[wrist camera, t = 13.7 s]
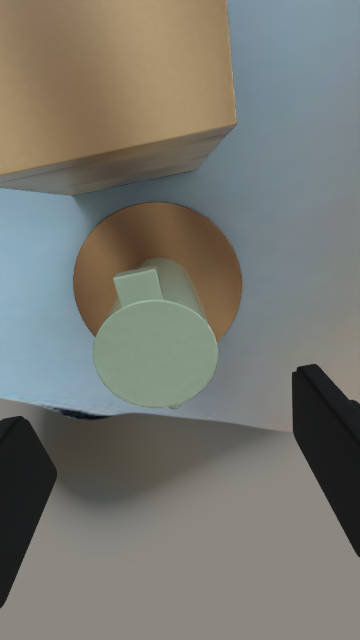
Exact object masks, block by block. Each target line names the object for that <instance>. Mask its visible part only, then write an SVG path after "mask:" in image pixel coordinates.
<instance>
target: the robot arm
mask: <svg viewBox="0 0 360 640" xmlns="http://www.w3.org/2000/svg"><path fill="white" fill-rule="evenodd" d="M292 408H293V433H294V437H295V439H296V441H297V443H298V445H299V447H300V449H301V451H302V453H303V455H304V456H305V458H306V460H307V462H308V464H309V466H310V468H311V470H312V471H313V473H314V475H315V477H316V479H317V481H318V483H319V485H320V486H321V488H322V490H323V492H324V494H325V496H326V498H327V500H328V502H329V503H330V505H331V507H332V509H333V511H334V513H335V514H336V516H337V519H338V520H339V522H340V524H341V526H342V528H343V530H344V532H345V533H346V536H347V537H348V539H349V541H350V543H351V545H352V547H353V549H354V550H355V552H356V554H357V555H358V556H359V557H360V404H359V403H358V402H357V401H354V400H349V399H348V398H347V397H346V396H345V395H344V394H343V393H342V391H341V390H340V389H339V388H338V387H337V386H336V385H335V384H334V383H333V382H332V380H331V379H330V378H329V377H328V376H327V375H326V374H325V373H324V372H323V371H322V369H321V368H320V367H319V366H318V365H317V364H311V365H305V366H300V367H297V371H296V372H293V373H292ZM56 478H57V470H56V468H55V466H54V464H53V462H52V461H51V459H50V457H49V455H48V454H47V452H46V450H45V448H44V447H43V445H42V443H41V442H40V440H39V438H38V436H37V434H36V433H35V431H34V429H33V427H32V426H31V424H30V422H29V421H28V420H27V419H24V417H22V416H16V417H11V418H6V419H3V420H1V421H0V608H1V607H2V606H3V605H4V603H5V601H6V599H7V597H8V595H9V592H10V589H11V587H12V585H13V582H14V580H15V578H16V575H17V573H18V570H19V568H20V566H21V563H22V561H23V558H24V556H25V553H26V551H27V549H28V546H29V544H30V541H31V539H32V537H33V534H34V532H35V529H36V527H37V525H38V522H39V520H40V517H41V515H42V512H43V510H44V508H45V505H46V503H47V500H48V498H49V496H50V493H51V491H52V488H53V486H54V483H55V481H56Z"/></svg>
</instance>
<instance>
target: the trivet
mask: <svg viewBox="0 0 360 640" xmlns="http://www.w3.org/2000/svg"><path fill="white" fill-rule="evenodd" d="M151 258H167V259H171V260H173V261H176V262H177V263H179V264H181V265H182V266H183V267H184V268H185V269H186V270H187V271H188V272H189V273H190V275H191V277H192V279H193V281H194V284H195V286H196V289H197V292H198V294H199V297H200V299H201V302H202V304H203V307H204V310H205V312H206V315H207V317H208V320H209V322H210V325H211V328H212V330H213V333H214V335H215V338H216V341H218V340H219V339H220V338H221V337H222V336H223V335H224V334H225V332H226V331H227V330H228V328H229V327H230V325H231V323H232V322H233V320H234V318H235V316H236V313H237V310H238V308H239V304H240V300H241V292H242V276H241V270H240V265H239V262H238V258H237V255H236V253H235V251H234V249H233V247H232V245H231V243H230V242H229V240H228V239H227V237H226V236H225V235H224V234H223V232H222V231H221V230H220V229H219V228H218V227H217V226H216V225H215V224H214V223H213V222H211V221H210V220H209V219H208V218H206V217H204V216H203V215H201V214H200V213H198V212H196V211H194V210H192V209H189V208H187V207H184V206H181V205H177V204H172V203H166V202H147V203H140V204H136V205H132V206H129V207H126V208H123V209H121V210H119V211H117V212H115V213H113V214H112V215H110V216H109V217H107V218H105V219H104V220H103V221H102V222H101V223H100V224H98V225H97V226H96V227H95V228H94V230H93V231H92V232H91V233H90V234H89V235H88V237H87V239H86V240H85V242H84V243H83V245H82V247H81V249H80V252H79V254H78V256H77V260H76V264H75V268H74V276H73V288H74V295H75V300H76V304H77V307H78V310H79V312H80V315H81V317H82V319H83V321H84V322H85V324H86V326H87V327H88V329H89V330H90V331H91V332H92V334H93V335H94V336H95V337H96V335H97V333H98V331H99V329H100V327H101V325H102V323H103V322H104V320H105V318H106V316H107V314H108V312H109V310H110V308H111V306H112V304H113V302H114V301H115V299H116V297H117V291H116V288H115V285H114V281H113V278H114V276H115V275H116V274H117V273H120V272H125V271H130V270H132V269H133V268H134V267H135V266H136V265H137V264H139V263H141V262H142V261H145V260H147V259H151Z"/></svg>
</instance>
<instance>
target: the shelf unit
mask: <svg viewBox="0 0 360 640" xmlns="http://www.w3.org/2000/svg"><path fill="white" fill-rule="evenodd" d="M236 125H237V118H236V106H235V94H234V82H233V70H232V58H231V46H230V34H229V22H228V11H227V0H0V188H6V189H15V190H24V191H33V192H42V193H51V194H60V195H69V196H74V195H79V194H84V193H89V192H93V191H98V190H103V189H107V188H112V187H117V186H121V185H126V184H131V183H136V182H140V181H145V180H150V179H154V178H159V177H164V176H168V175H173V174H178V173H183V172H187V171H192V170H196V169H197V168H198V167H199V166H200V165H201V164H202V163H203V161H204V160H205V159H206V158H207V157H208V156H209V155H210V153H211V152H212V151H213V150H214V149H215V148H216V147H217V145H218V144H219V143H220V142H221V141H222V140H223V139H224V138H225V136H226V135H227V134H228V133H230V131H231V130H232V129H233V128H234V127H235V126H236Z"/></svg>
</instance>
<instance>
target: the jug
mask: <svg viewBox="0 0 360 640" xmlns="http://www.w3.org/2000/svg"><path fill="white" fill-rule="evenodd" d="M113 281H114V285H115V288H116V291H117V297H116V299H115V301H114V302H113V304H112V306H111V308H110V310H109V312H108V314H107V316H106V318H105V320H104V322H103V323H102V325H101V327H100V329H99V331H98V333H97V335H96V338H95V341H94V346H93V360H94V365H95V369H96V371H97V374H98V376H99V378H100V379H101V381H102V382H103V384H104V385H105V386H106V387H107V388H108V389H109V390H110V391H111V392H112V393H113V394H115V395H116V396H118V397H119V398H121V399H123V400H124V401H127V402H129V403H131V404H135V405H138V406H143V407H151V408H161V407H169V408H171V409H176V408H178V407H179V406H180V405H181V403H183V402H185V401H187V400H189V399H191V398H192V397H194V396H195V395H197V394H198V393H199V392H200V391H202V389H203V388H204V387H205V386H206V385H207V384H208V383H209V381H210V380H211V378H212V376H213V374H214V372H215V369H216V366H217V362H218V345H217V341H216V338H215V335H214V333H213V330H212V328H211V325H210V322H209V320H208V317H207V315H206V312H205V310H204V307H203V304H202V302H201V299H200V297H199V294H198V292H197V289H196V286H195V284H194V281H193V279H192V277H191V275H190V273H189V272H188V271H187V270H186V269H185V268H184V267H183V266H182V265H181V264H179V263H177V262H176V261H173V260H171V259H167V258H151V259H147V260H145V261H142V262H141V263H139V264H137V265H136V266H135V267H134V268H133V269H132V270H130V271H125V272H120V273H117V274H116V275H115V276H114V278H113Z"/></svg>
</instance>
